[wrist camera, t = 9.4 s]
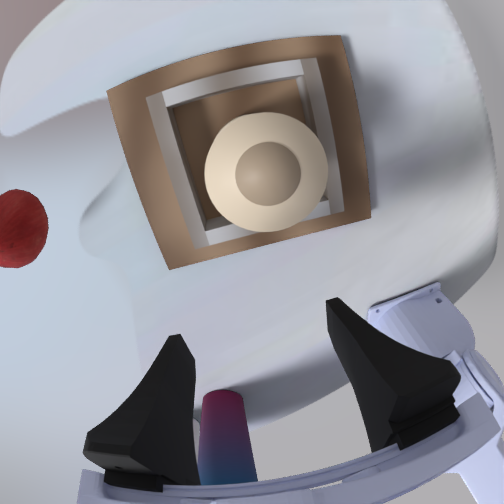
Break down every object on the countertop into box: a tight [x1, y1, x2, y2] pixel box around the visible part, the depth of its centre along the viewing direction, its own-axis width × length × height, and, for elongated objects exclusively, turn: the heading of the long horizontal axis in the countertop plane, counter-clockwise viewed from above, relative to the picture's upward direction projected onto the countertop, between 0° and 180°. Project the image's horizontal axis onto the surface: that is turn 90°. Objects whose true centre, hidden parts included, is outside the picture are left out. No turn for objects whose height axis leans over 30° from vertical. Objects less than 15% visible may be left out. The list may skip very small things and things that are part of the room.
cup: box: [197, 390, 258, 501], centre depth 24 cm, size 7×7×15 cm
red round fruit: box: [0, 189, 49, 268], centre depth 14 cm, size 6×6×8 cm
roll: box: [205, 112, 328, 232], centre depth 13 cm, size 5×5×8 cm
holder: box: [107, 35, 371, 270], centre depth 16 cm, size 16×14×3 cm
